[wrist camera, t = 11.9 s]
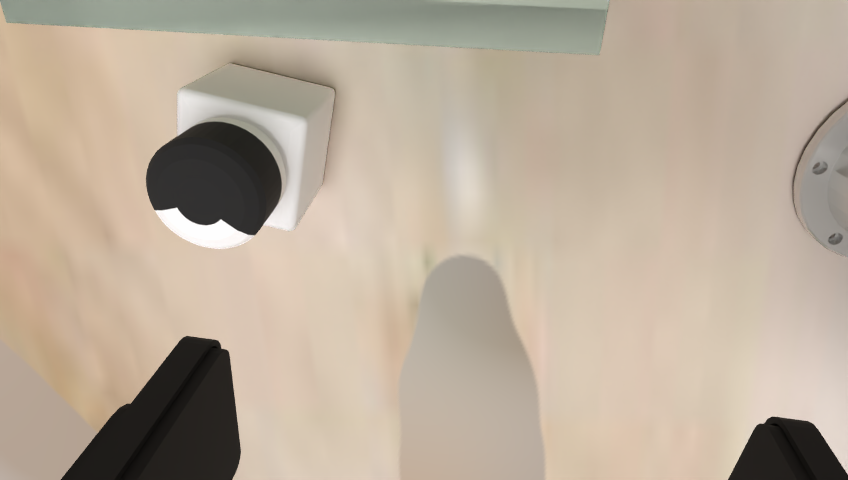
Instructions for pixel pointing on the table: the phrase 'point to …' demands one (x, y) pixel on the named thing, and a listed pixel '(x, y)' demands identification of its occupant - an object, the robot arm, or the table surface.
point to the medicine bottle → (241, 156)
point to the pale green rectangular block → (346, 20)
